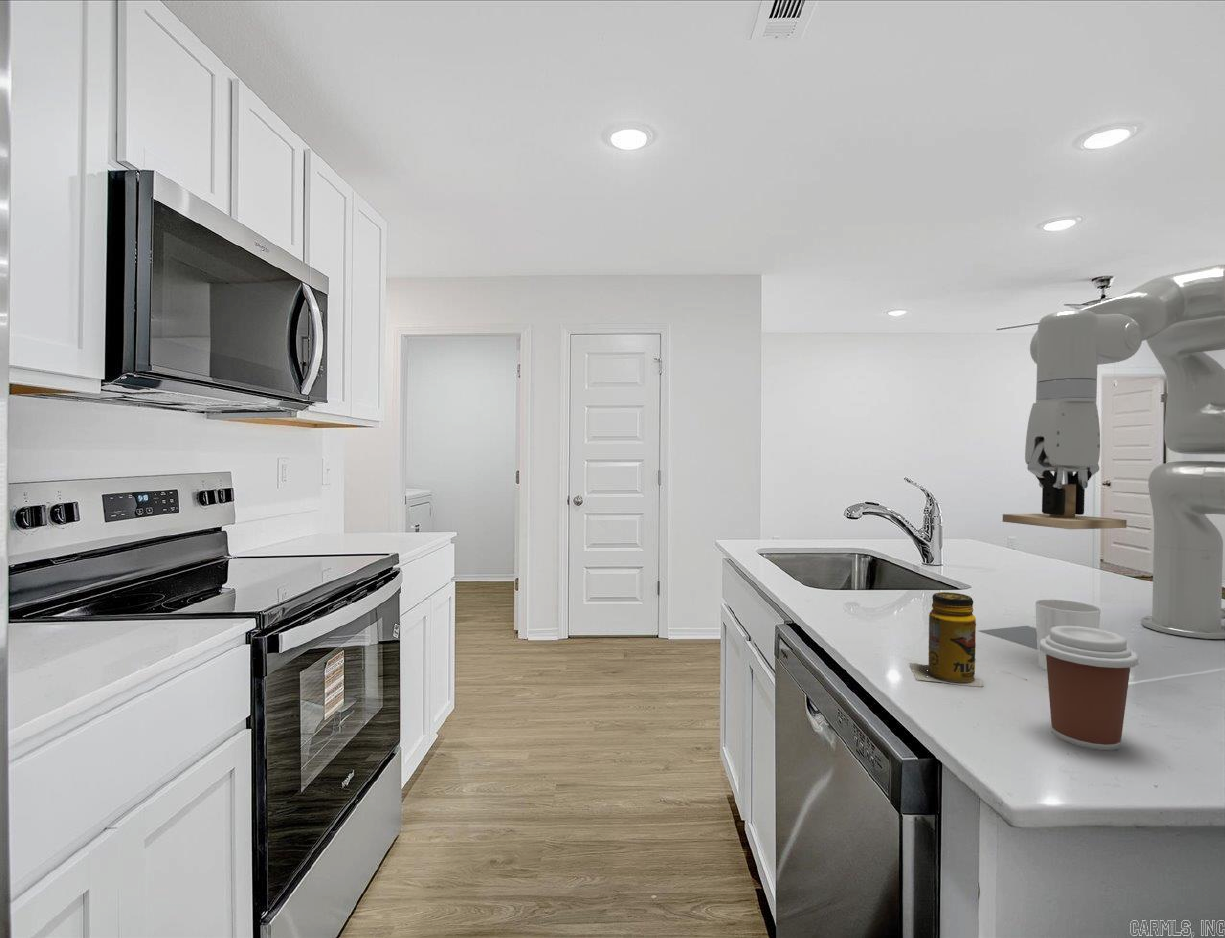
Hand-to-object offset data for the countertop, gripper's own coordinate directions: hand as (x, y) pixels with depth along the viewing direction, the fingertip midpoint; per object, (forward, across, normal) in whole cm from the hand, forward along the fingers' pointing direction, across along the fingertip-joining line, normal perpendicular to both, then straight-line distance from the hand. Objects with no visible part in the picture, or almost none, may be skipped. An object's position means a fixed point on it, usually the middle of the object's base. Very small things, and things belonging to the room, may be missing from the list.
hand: (1062, 512), depth 96 cm
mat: (+24, -10, -12) cm, 28 cm away
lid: (+2, 0, 0) cm, 2 cm away
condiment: (+24, +20, -2) cm, 32 cm away
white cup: (+24, +1, +2) cm, 24 cm away
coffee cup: (+24, +21, +19) cm, 37 cm away
